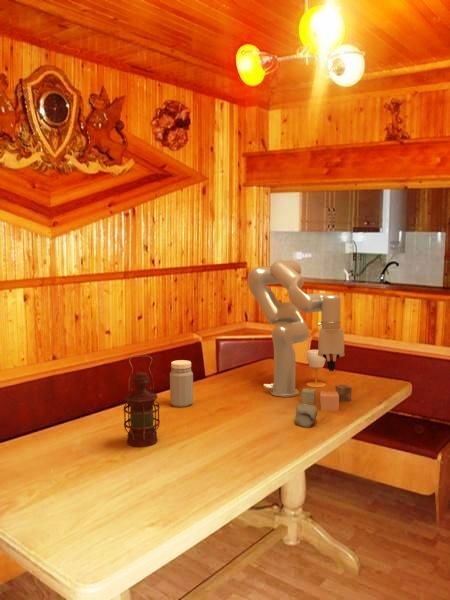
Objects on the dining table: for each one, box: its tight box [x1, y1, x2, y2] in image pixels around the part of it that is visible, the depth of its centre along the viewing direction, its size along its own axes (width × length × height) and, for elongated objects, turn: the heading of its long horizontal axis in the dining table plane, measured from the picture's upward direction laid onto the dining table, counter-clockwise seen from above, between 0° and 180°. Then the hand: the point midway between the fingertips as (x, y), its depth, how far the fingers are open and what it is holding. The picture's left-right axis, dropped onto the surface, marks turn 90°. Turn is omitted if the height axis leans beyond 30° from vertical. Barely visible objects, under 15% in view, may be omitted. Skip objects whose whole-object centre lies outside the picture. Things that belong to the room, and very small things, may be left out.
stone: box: [295, 403, 318, 429], centre depth 212 cm, size 9×9×10 cm
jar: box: [169, 359, 194, 408], centre depth 235 cm, size 10×10×18 cm
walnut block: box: [335, 384, 352, 403], centre depth 241 cm, size 5×5×6 cm
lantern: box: [123, 354, 161, 448], centre depth 191 cm, size 12×12×30 cm
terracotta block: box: [319, 390, 340, 412], centre depth 230 cm, size 7×7×6 cm
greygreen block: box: [301, 388, 316, 405], centre depth 238 cm, size 5×5×5 cm
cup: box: [306, 349, 327, 388], centre depth 265 cm, size 9×9×16 cm
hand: (331, 370), depth 228 cm, fingers closed
